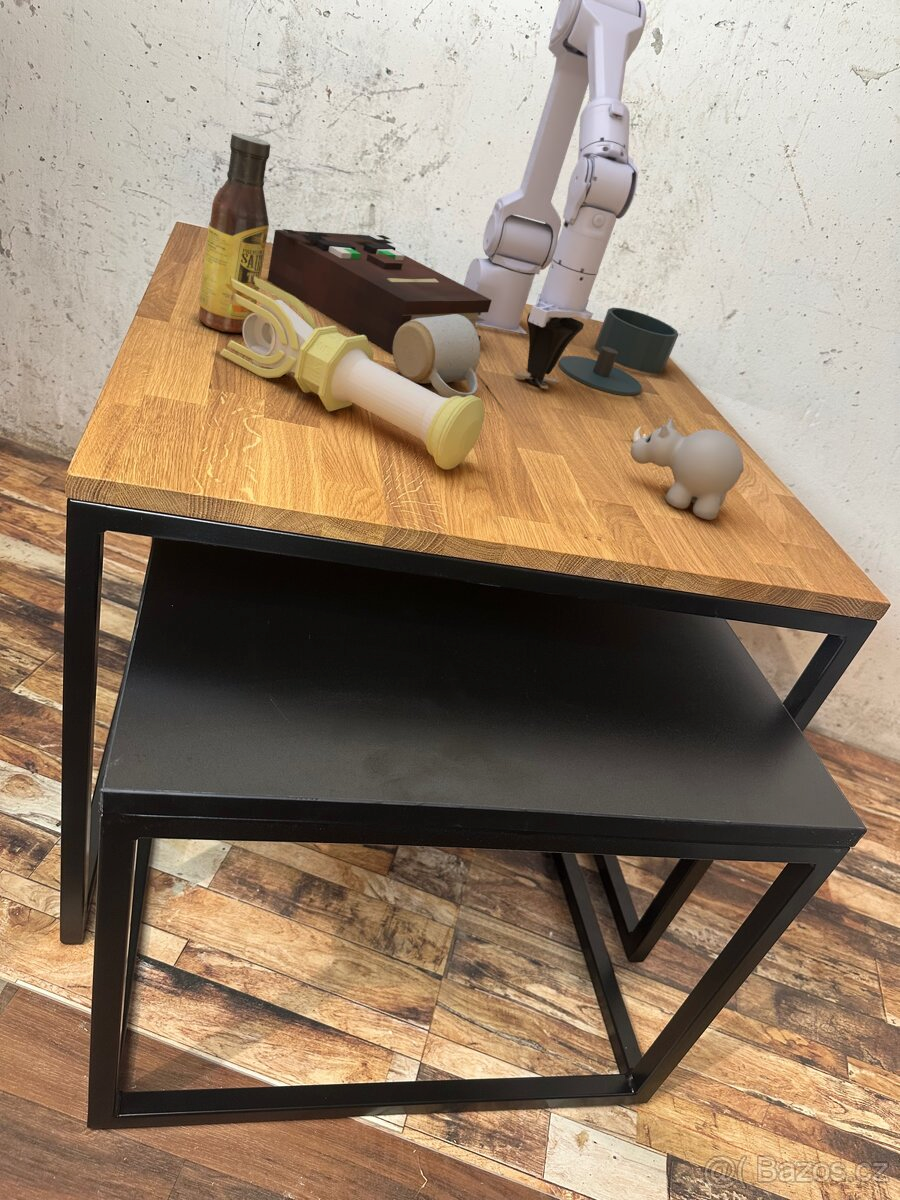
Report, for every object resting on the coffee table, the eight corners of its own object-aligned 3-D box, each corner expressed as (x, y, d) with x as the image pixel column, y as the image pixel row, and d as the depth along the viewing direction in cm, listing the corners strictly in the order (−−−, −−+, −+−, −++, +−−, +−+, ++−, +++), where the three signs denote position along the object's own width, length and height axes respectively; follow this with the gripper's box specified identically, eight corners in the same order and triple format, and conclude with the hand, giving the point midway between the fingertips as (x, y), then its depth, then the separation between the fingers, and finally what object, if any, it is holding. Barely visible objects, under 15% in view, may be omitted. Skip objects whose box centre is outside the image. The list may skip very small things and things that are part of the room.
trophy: (502, 392, 83) (267, 274, 92) (463, 406, 77) (216, 278, 86) (477, 467, 87) (254, 348, 96) (438, 486, 81) (205, 357, 91)
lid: (577, 392, 116) (589, 359, 113) (544, 357, 125) (555, 326, 123) (653, 405, 121) (666, 374, 118) (616, 371, 130) (628, 341, 127)
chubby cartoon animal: (627, 464, 99) (656, 394, 94) (725, 509, 96) (761, 439, 91) (608, 481, 93) (638, 408, 89) (712, 529, 90) (749, 456, 85)
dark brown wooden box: (414, 302, 102) (257, 216, 115) (399, 363, 106) (249, 273, 119) (512, 300, 116) (362, 224, 129) (495, 354, 120) (351, 275, 133)
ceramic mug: (381, 367, 103) (397, 304, 98) (429, 364, 108) (446, 304, 104) (441, 408, 98) (461, 343, 93) (488, 403, 103) (509, 341, 99)
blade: (520, 392, 109) (534, 350, 106) (505, 374, 114) (518, 333, 111) (562, 399, 112) (577, 359, 109) (545, 381, 116) (559, 341, 113)
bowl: (611, 369, 130) (628, 327, 126) (582, 342, 138) (597, 302, 135) (673, 381, 134) (691, 341, 131) (641, 353, 142) (657, 315, 139)
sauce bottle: (239, 340, 97) (267, 149, 87) (187, 322, 98) (208, 129, 87) (261, 327, 103) (289, 146, 92) (211, 310, 103) (234, 127, 93)
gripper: (583, 283, 97) (544, 395, 105) (622, 273, 109) (584, 375, 116) (529, 261, 99) (494, 372, 107) (573, 254, 111) (539, 355, 118)
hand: (538, 372), depth 112 cm, fingers closed on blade
